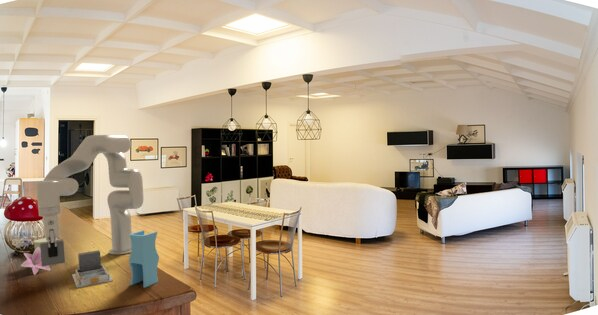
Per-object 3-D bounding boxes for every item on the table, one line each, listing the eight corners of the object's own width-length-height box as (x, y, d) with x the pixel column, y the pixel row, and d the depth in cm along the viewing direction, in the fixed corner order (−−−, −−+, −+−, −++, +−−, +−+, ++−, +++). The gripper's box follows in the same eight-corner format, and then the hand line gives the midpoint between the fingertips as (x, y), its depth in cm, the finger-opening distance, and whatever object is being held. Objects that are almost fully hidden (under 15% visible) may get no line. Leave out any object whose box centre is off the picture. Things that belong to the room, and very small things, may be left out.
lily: (16, 280, 173) (24, 261, 171) (15, 263, 181) (23, 245, 180) (47, 281, 181) (55, 263, 179) (45, 265, 189) (53, 248, 188)
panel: (64, 260, 170) (62, 239, 169) (64, 262, 167) (63, 240, 166) (41, 264, 165) (40, 242, 164) (41, 266, 162) (40, 244, 162)
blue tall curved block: (160, 280, 164) (157, 231, 163) (145, 287, 157) (142, 236, 156) (145, 278, 167) (143, 230, 166) (130, 285, 160) (127, 234, 159)
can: (47, 267, 186) (46, 241, 185) (30, 266, 187) (28, 241, 187) (63, 261, 195) (61, 236, 194) (46, 260, 196) (45, 236, 196)
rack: (105, 269, 180) (104, 248, 180) (112, 280, 165) (111, 257, 165) (72, 275, 173) (70, 253, 173) (76, 288, 158) (75, 263, 158)
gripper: (61, 212, 160) (65, 258, 161) (58, 206, 173) (62, 249, 175) (39, 215, 156) (42, 262, 157) (38, 209, 169) (41, 252, 171)
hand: (52, 255), depth 166 cm, fingers closed on panel, 3 cm apart
